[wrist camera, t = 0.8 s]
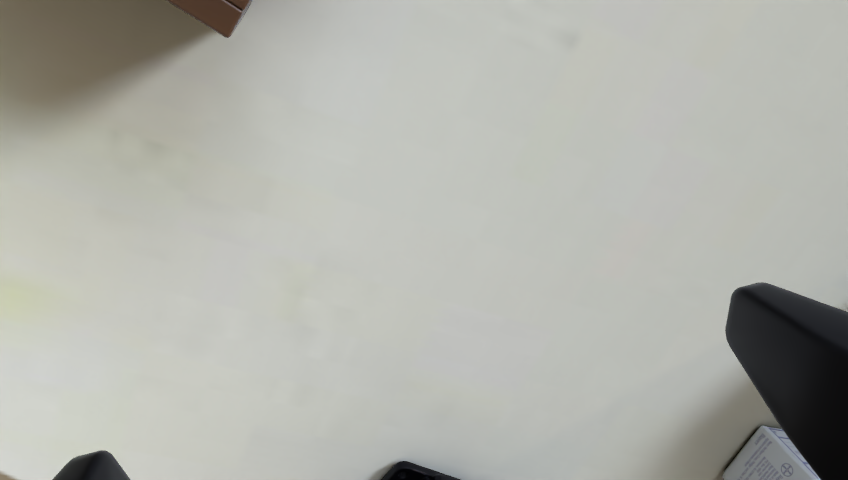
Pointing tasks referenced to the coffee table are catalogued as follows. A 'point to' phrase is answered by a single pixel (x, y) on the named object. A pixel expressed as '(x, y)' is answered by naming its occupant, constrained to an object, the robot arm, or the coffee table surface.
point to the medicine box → (769, 459)
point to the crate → (215, 13)
